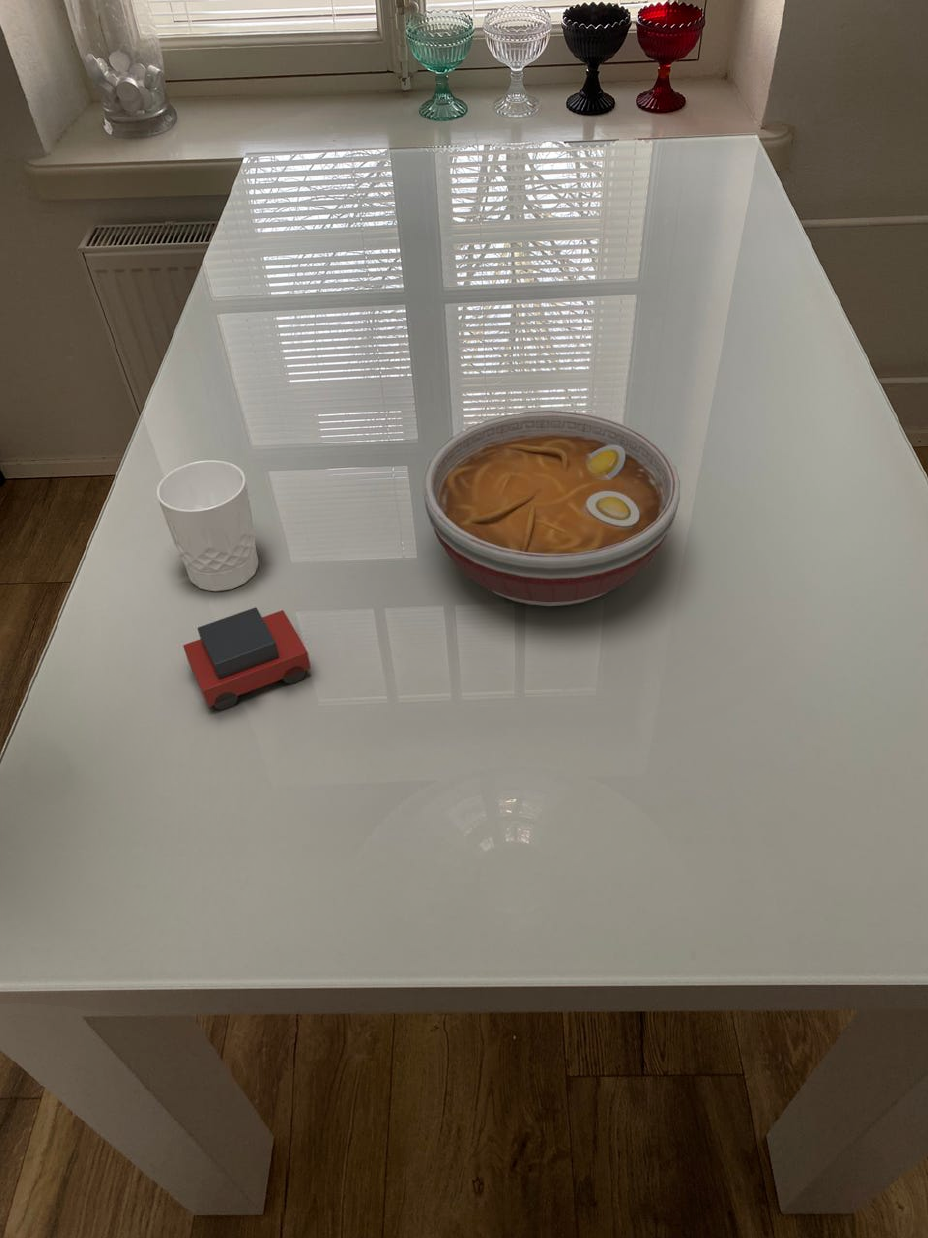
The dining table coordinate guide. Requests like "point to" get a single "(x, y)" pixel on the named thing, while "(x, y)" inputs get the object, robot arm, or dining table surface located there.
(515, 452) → the bowl
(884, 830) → the dining table surface
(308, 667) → the toy car
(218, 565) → the white cup
